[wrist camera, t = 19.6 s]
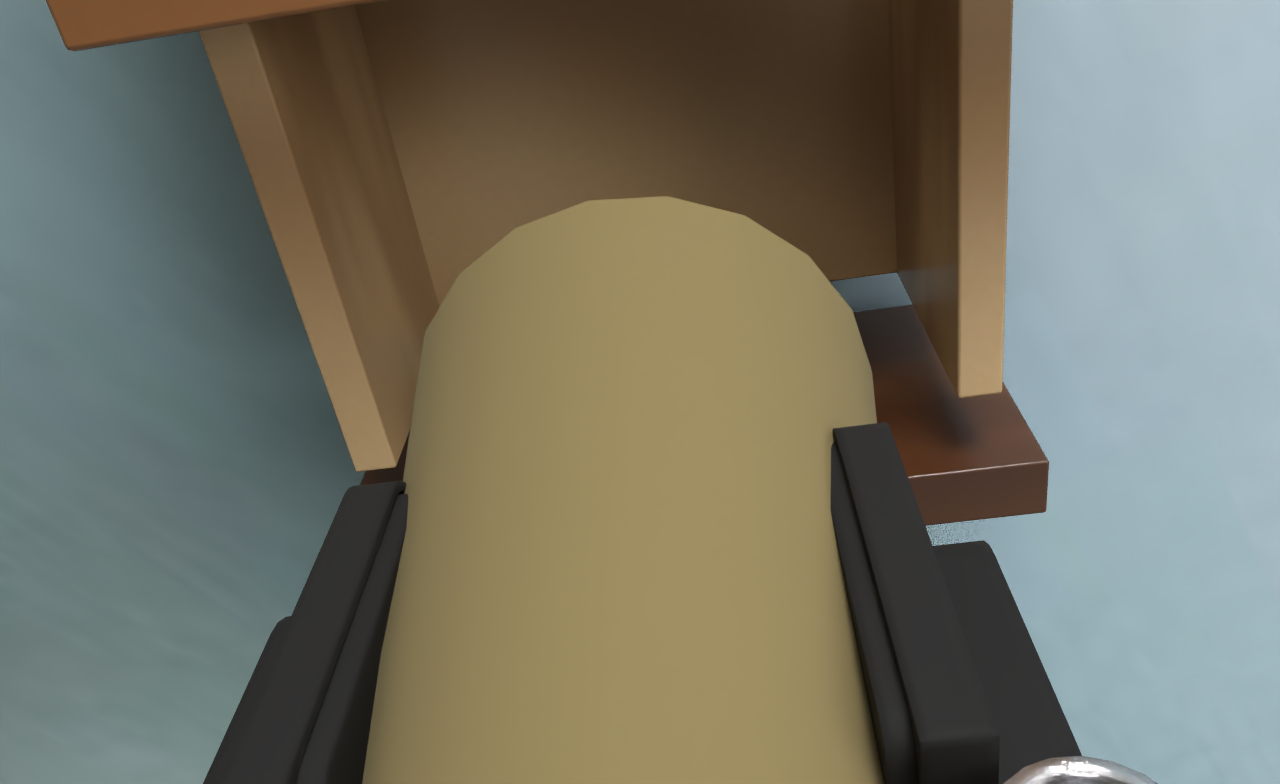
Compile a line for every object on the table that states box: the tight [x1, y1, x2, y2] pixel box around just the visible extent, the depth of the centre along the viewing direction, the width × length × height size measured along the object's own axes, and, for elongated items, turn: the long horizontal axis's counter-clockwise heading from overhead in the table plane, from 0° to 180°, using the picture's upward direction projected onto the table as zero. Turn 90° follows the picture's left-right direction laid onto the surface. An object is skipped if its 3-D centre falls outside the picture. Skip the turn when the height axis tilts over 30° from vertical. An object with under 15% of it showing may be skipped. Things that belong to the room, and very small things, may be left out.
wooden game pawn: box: [362, 196, 885, 784], centre depth 9 cm, size 6×6×11 cm
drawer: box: [199, 0, 1049, 526], centre depth 21 cm, size 20×14×7 cm
